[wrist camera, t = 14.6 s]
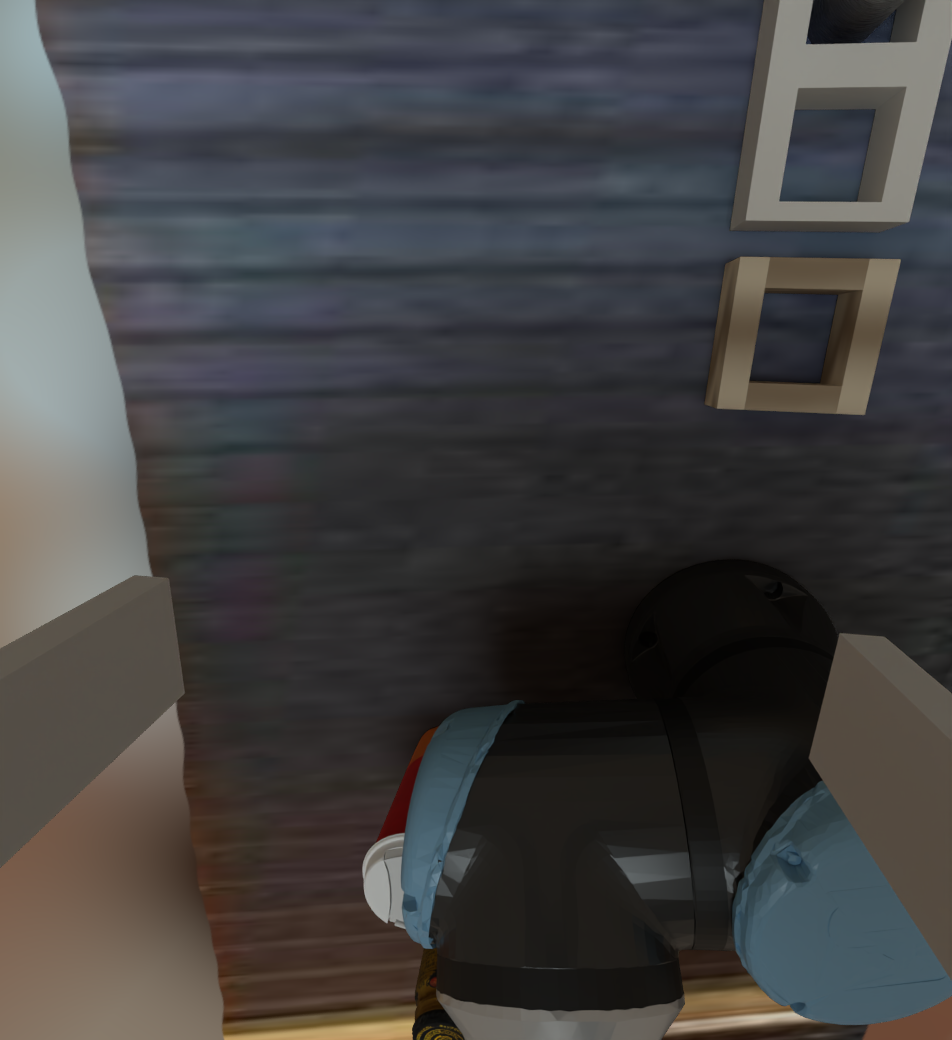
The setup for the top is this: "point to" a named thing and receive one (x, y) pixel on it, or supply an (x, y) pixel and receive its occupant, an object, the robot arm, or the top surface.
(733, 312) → the socket block
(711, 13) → the top surface
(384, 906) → the paper cup
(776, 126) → the rack
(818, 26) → the grey peg
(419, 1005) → the condiment
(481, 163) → the top surface
